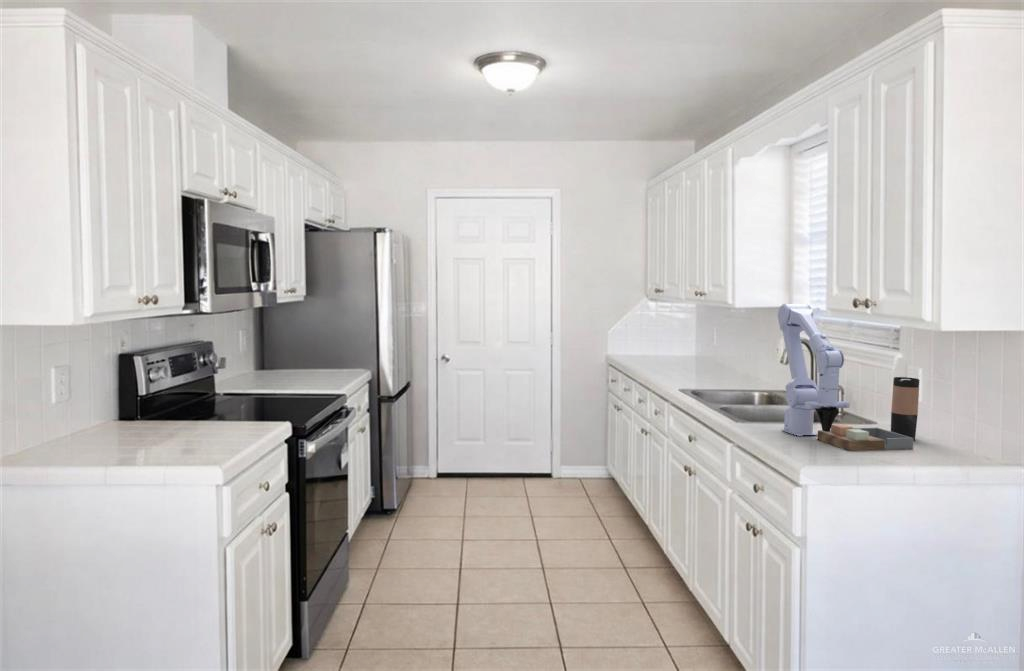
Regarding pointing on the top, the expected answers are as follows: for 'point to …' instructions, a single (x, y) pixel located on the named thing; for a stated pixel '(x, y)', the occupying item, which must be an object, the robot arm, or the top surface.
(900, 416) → the travel mug
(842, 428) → the tile terracotta
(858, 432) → the tile sage
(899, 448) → the box
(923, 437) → the top surface
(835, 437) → the board
